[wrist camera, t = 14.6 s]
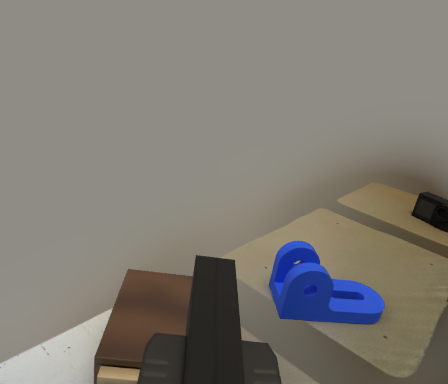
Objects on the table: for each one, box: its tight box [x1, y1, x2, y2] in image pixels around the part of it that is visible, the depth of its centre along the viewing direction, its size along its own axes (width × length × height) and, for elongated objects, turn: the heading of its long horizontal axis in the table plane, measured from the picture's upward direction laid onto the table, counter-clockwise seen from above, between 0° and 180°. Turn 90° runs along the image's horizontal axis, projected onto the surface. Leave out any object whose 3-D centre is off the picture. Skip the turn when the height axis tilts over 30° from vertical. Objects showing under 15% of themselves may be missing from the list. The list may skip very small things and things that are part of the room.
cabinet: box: [94, 269, 193, 384], centre depth 41 cm, size 14×12×10 cm
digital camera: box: [412, 192, 448, 232], centre depth 99 cm, size 10×5×7 cm, turn 32°
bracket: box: [269, 241, 384, 324], centre depth 58 cm, size 18×8×9 cm, turn 94°
